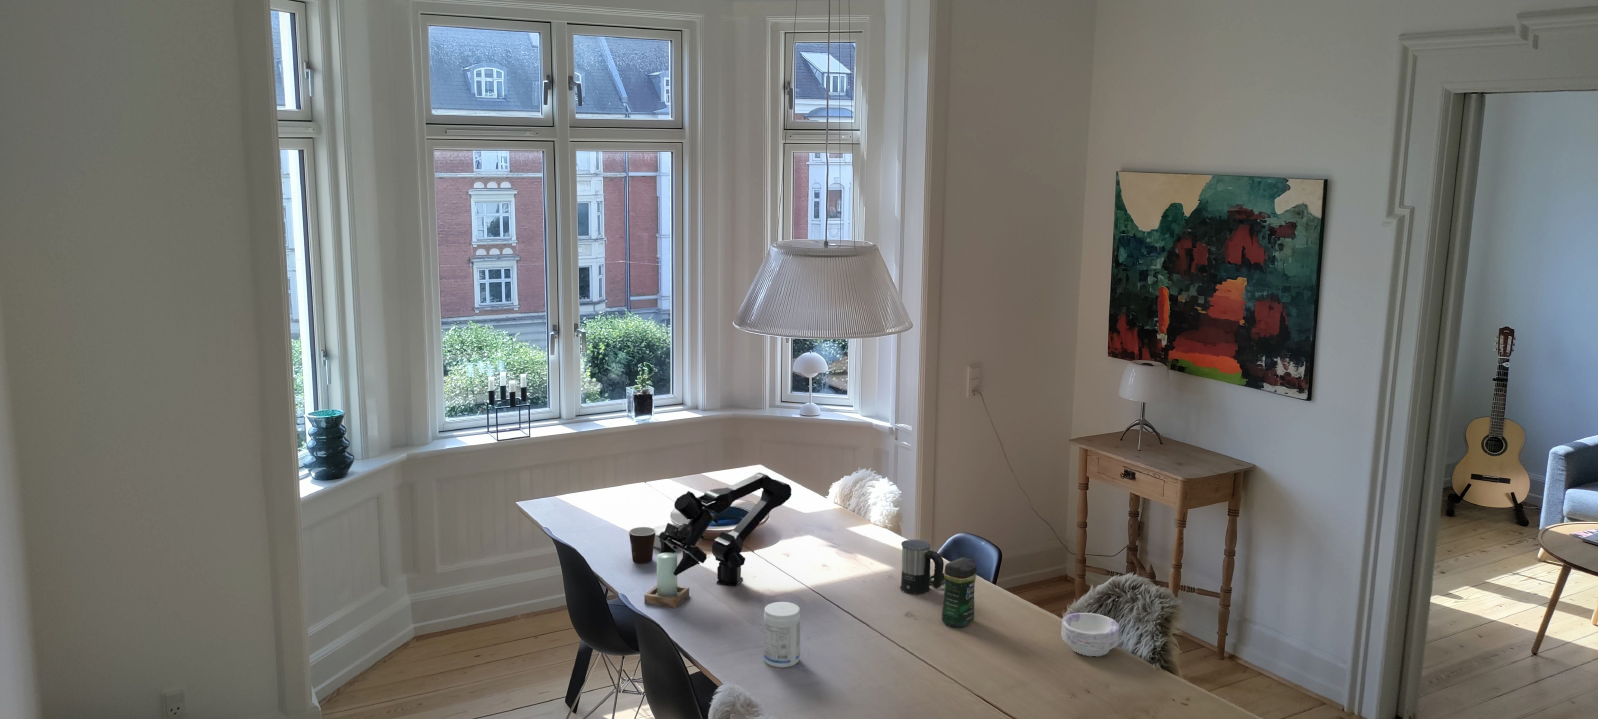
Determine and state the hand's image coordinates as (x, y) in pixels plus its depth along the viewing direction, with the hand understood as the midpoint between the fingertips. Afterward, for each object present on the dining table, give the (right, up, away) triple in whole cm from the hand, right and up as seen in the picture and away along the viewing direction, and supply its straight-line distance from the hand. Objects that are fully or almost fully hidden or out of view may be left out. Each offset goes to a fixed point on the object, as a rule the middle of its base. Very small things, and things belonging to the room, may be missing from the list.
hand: (665, 570), depth 323 cm
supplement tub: (+35, -17, -37) cm, 54 cm away
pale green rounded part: (0, -7, +2) cm, 8 cm away
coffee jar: (+86, -13, -10) cm, 87 cm away
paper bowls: (+119, -17, -27) cm, 123 cm away
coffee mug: (-11, -3, +35) cm, 37 cm away
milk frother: (+79, -8, +16) cm, 81 cm away
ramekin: (-6, -1, +49) cm, 49 cm away
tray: (0, -9, +2) cm, 9 cm away
